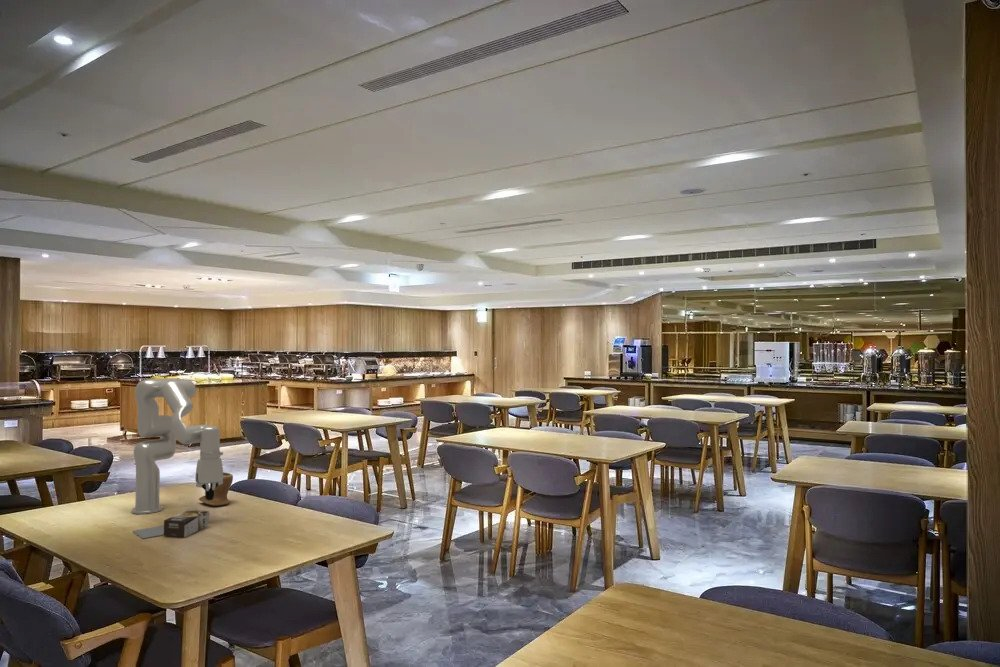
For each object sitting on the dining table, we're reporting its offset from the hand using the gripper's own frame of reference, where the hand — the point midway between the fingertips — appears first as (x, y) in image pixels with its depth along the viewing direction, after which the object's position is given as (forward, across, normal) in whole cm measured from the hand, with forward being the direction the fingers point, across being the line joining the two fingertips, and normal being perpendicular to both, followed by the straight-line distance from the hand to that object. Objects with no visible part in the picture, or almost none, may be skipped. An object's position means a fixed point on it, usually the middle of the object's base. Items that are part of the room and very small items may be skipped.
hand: (209, 499), depth 274 cm
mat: (+10, +18, 0) cm, 21 cm away
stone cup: (+10, -15, -32) cm, 37 cm away
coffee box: (+6, +5, +3) cm, 8 cm away
